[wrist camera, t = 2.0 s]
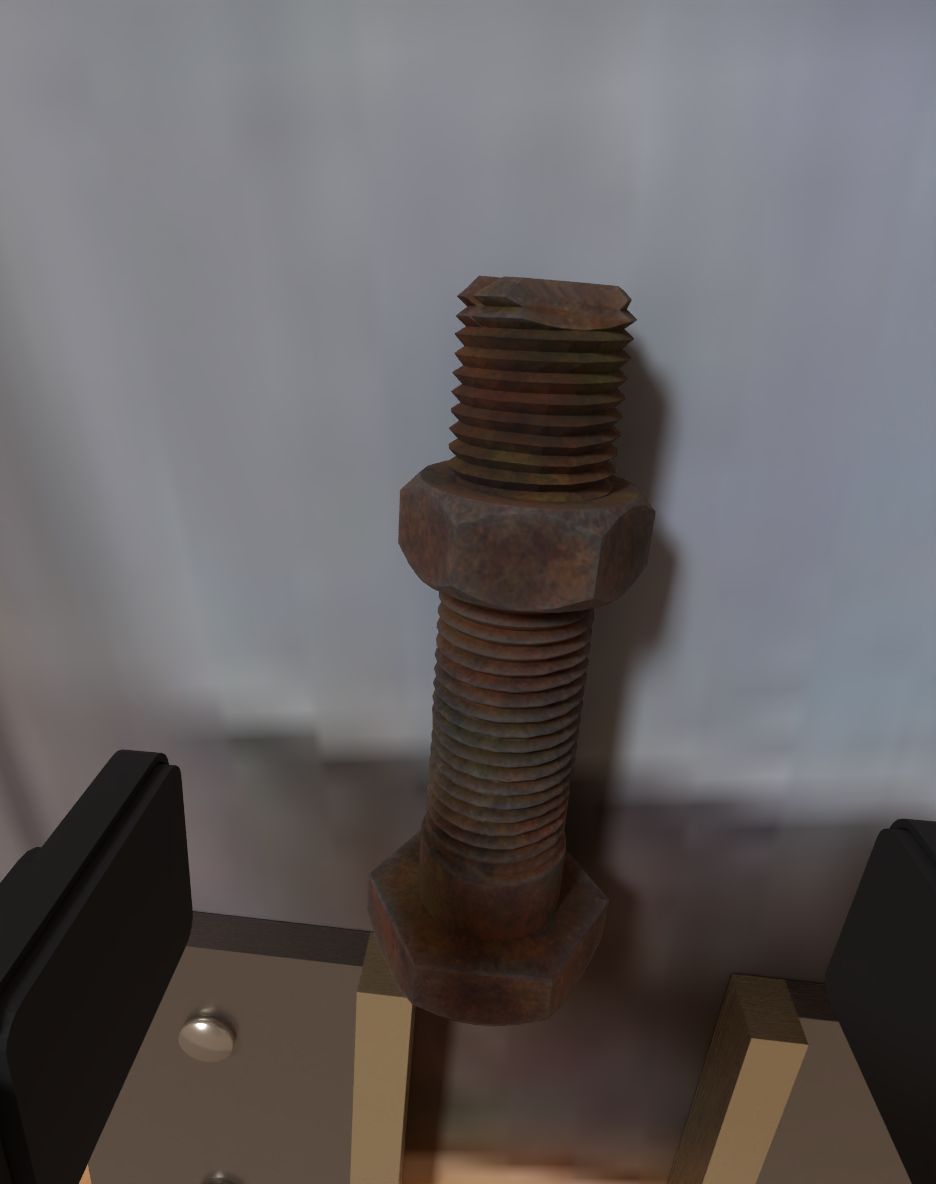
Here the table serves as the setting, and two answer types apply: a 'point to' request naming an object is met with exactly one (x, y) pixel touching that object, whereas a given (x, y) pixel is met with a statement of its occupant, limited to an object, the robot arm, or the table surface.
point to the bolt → (512, 652)
